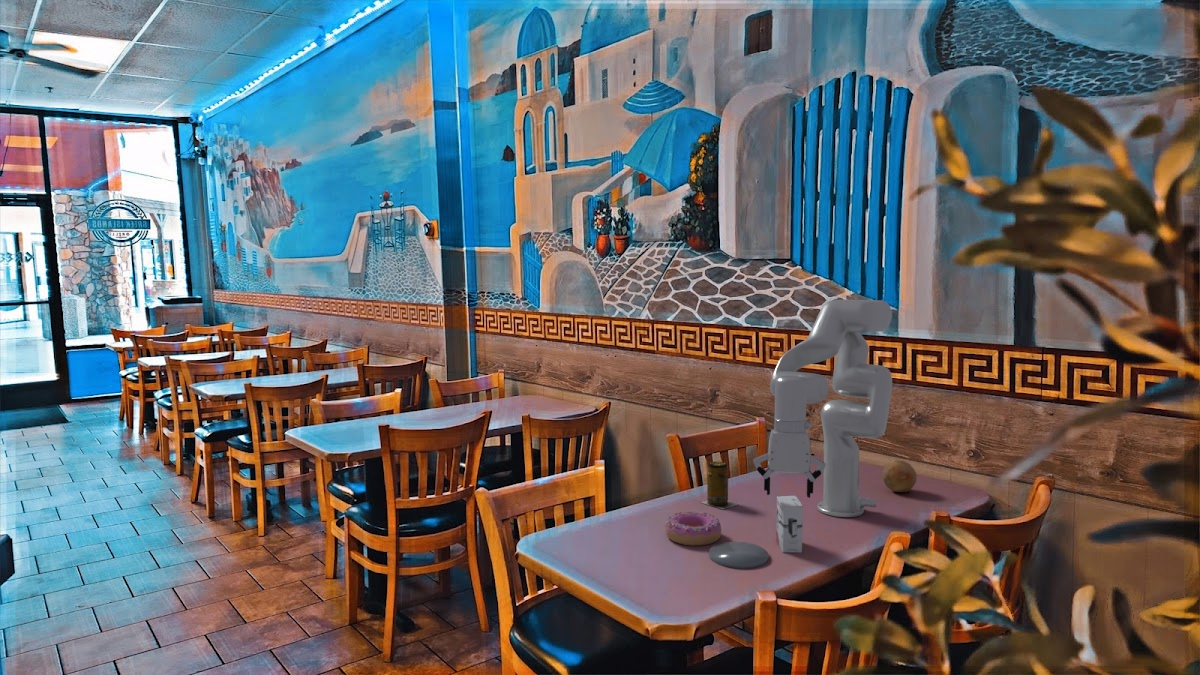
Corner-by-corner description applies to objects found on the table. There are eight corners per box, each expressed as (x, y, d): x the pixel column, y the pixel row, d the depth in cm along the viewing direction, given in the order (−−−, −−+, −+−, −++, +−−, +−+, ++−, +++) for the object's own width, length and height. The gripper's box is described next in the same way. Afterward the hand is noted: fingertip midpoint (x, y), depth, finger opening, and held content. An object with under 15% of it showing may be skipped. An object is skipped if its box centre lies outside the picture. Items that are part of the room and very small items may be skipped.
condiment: (717, 497, 227) (717, 458, 225) (738, 504, 220) (739, 464, 219) (700, 503, 222) (700, 463, 221) (722, 510, 215) (722, 469, 214)
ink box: (775, 539, 192) (775, 495, 191) (794, 539, 192) (795, 495, 191) (782, 553, 184) (783, 506, 182) (802, 553, 183) (803, 506, 182)
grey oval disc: (768, 547, 187) (768, 543, 187) (768, 570, 173) (768, 566, 173) (711, 543, 190) (711, 540, 190) (707, 565, 176) (707, 561, 176)
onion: (923, 494, 227) (924, 461, 226) (898, 498, 223) (899, 465, 222) (899, 485, 236) (900, 454, 235) (874, 489, 232) (875, 457, 231)
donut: (716, 550, 186) (716, 531, 186) (660, 545, 190) (660, 525, 190) (724, 530, 200) (724, 512, 199) (671, 525, 204) (671, 507, 203)
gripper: (825, 425, 186) (823, 492, 188) (754, 421, 190) (752, 488, 191) (827, 431, 179) (825, 501, 180) (753, 427, 183) (752, 496, 184)
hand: (788, 494), depth 186 cm, fingers open, 9 cm apart
